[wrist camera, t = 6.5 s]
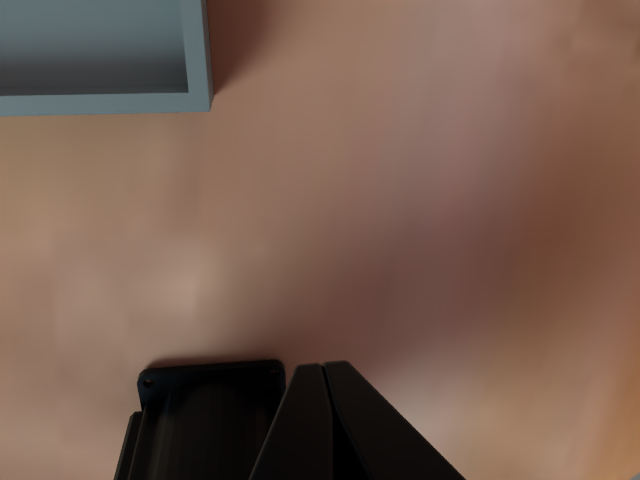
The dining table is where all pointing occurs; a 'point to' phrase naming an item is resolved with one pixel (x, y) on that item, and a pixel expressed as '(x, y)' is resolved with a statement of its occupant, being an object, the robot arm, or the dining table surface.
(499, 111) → the dining table surface
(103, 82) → the tray
